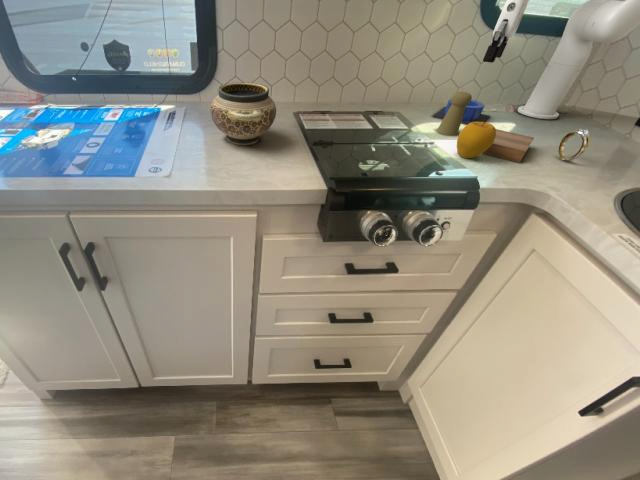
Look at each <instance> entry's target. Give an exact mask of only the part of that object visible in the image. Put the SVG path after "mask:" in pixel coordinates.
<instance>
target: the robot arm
mask: <svg viewBox="0 0 640 480" xmlns="http://www.w3.org/2000/svg"><path fill="white" fill-rule="evenodd" d="M529 1H530V0H506V1H505V3H504V4H503V7H502V9H501V12H500V14H499V17H498V19H497V21H496V24H495V26H494V29H493V32H492V39H491V41H490V42H489V45H488V47H487V49H486V51H485V54H484V55H483V58H482V62H483V63H484V62H485V63H490V64H491V63H493V64H494V62H495V61H496V58H499V59H500V58H501V57H502V56H503V53H504V51H505V49H506V47H507V44H508V41H509V39H510V38H512V37H514V35H515V34H516V33H517V30H518V28H519V26H520V23H521V21H522V18H523V16H524V14H525V11H526V9H527V6H528V3H529ZM639 25H640V0H587V1H585V2H584V3H582V4H580V5H579V6H578V7H577V8H575V10H574V11H573V12H572V14H571V15H570V17H569V18H568V20H567V22H566V24H565V27H564V30H563V33H562V36H561V38H560V41H559V43H558V44H557V47H556V49H555V51H554V52H553V55H552V56H551V58H550V60H549V62H548V63H547V65H546V67H545V68H544V70H543V72H542V74H541V75H540V78H539V80H538V82H537V83H536V85H535V87H534V88H533V90H532V92H531V94H530V96H529V98H528V99H527V101H526V103H525V105H521V106H518V108H517V112H518V113H519V114H521V115H523V116H526V117H530V118H533V119H540V120H556V119H557V118H558V117H559V116H560V113H559V112H558V111H557V110H558V109H559V107H560V105H561V103H562V102H563V100H564V98H565V97H566V95H567V94H568V92H569V90H570V89H571V87H572V86H573V84H574V82H575V81H576V79H577V77H578V76H579V75H580V72H581V71H582V69H583V68H584V66H585V65H586V63H587V61H588V60H589V57H590V55H591V53H592V49H593V46H594V45H593V44H594V42H595V43H600V44H610V43H611V44H612V43H615V42H616V41H617V42H618V41H619V40H620V39H622V38H624V37H625V36H627V35H628V34H629V33H631V32H632V31H634V30H635V29H636V28H637V27H639Z"/></svg>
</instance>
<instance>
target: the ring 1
mask: <svg viewBox="0 0 640 480" xmlns="http://www.w3.org/2000/svg"><path fill="white" fill-rule="evenodd" d="M451 99H452V98H450V99H449V100H448V101H447V104H446V106H445V107H446V109H445V111H444V114H445V115H446V113H447V111H448V110H449V108H450V106H451V104H452V103H451ZM485 107H486V105H485V104H484V103H483V102H481V101H478V100H475V99H471V102H470V103H469V104H468V105H467V106H466V109H465V112H464V115H463V118H462V120H465V121H474V120H478V119H479V117H480V115H481V114H483V111H484V108H485Z"/></svg>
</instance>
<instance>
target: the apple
mask: <svg viewBox="0 0 640 480" xmlns="http://www.w3.org/2000/svg"><path fill="white" fill-rule="evenodd" d="M496 129H497V128H496V127H495V126H494V125H493V124H491V123H489V122H486V121H484V122H471V123H469V124H468V125H466V124H465V126H464V127H463V128H462V129H461V130H460V132H459V133H458V137H457V141H456V151H457V154H458V156H459V157H461V158H464V159H475V158H477V157H479V156H481V155H482V154H484V153H483V152H485V151H486V150H487V149H488V148H489V147H490V146H491V145H492V144H493V142H494V140H495V137H496Z"/></svg>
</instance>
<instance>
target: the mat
mask: <svg viewBox="0 0 640 480" xmlns="http://www.w3.org/2000/svg"><path fill="white" fill-rule="evenodd" d="M445 109H446V106H444V107H443V108H442V109H440V110H439V111H437V112H436V113H434V114H433V115H432V118H436V119H440V120H443V119H444V117H445V114H444V111H445ZM489 118H490V115H489V114H483V113H481V115H480V117H479V119H478V120H474V121H465V120H462V121H461V125H465V126H466V125H468V124H469V123H471V122H486V121H487V120H488V119H489Z"/></svg>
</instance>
